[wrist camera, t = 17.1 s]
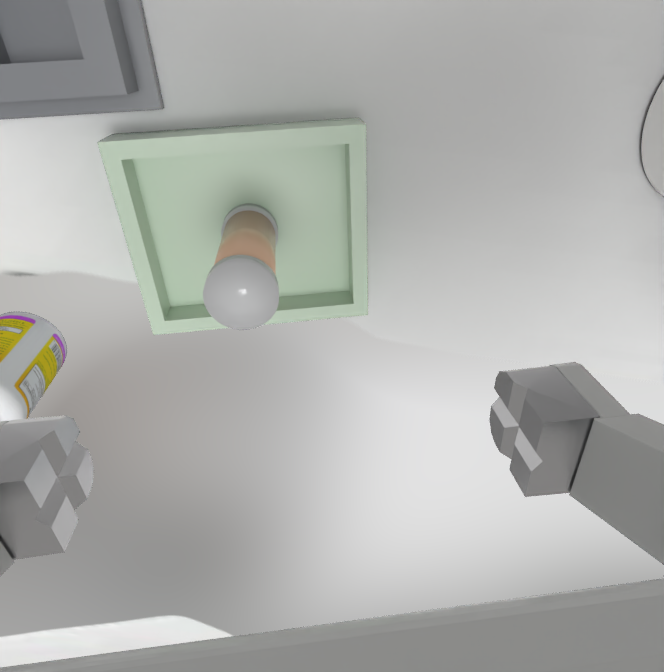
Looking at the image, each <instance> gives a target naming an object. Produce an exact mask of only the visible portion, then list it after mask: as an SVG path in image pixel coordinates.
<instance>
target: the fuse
mask: <svg viewBox="0 0 664 672" xmlns="http://www.w3.org/2000/svg"><path fill="white" fill-rule="evenodd" d="M277 242H278V226H277V223H276V220H275V218H274V217H273V215H272V214H271V213H270V212H269V211H268V210H267V209H265V208H264V207H262V206H260V205H257V204H251V203H246V204H241V205H238V206H236V207H234V208H233V209H232V210H230V211H229V212H228V214H227V215H226V217H225V219H224V222H223V225H222V229H221V242H220V245H219V249H218V253H217V256H216V260H215V263H214V266H213V267H212V268H211V270H210V271H209V273H208V276H207V279H206V282H205V285H204V289H203V300H204V304H205V307H206V309H207V311H208V312H209V314H210V315H211V316H212V317H213V318H214V319H215V320H216V321H217V322H219V323H220V324H222V325H224V326H226V327H229V328H232V329H237V330H248V329H253V328H256V327H259V326H261V325H263V324H265V323H266V322H268V321H269V320H270V319H271V318H272V316H273V315H274V314H275V312H276V310H277V307H278V304H279V284H278V280H277V277H276V245H277Z"/></svg>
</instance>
